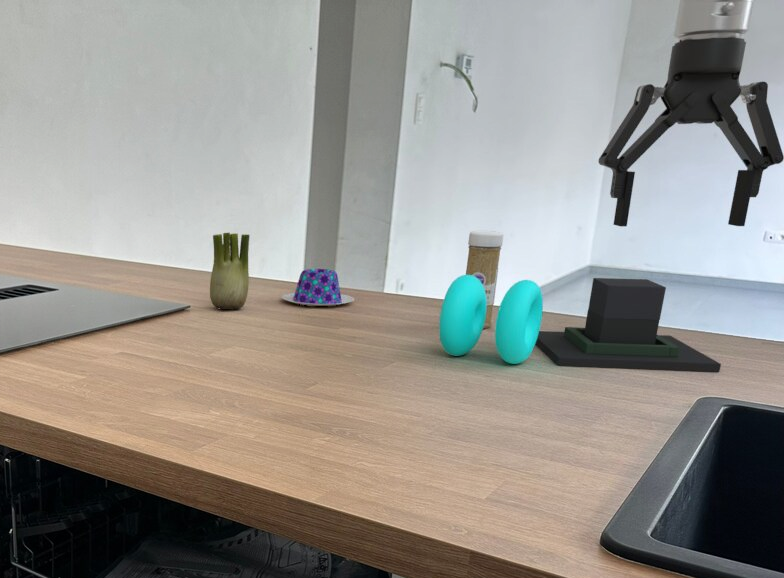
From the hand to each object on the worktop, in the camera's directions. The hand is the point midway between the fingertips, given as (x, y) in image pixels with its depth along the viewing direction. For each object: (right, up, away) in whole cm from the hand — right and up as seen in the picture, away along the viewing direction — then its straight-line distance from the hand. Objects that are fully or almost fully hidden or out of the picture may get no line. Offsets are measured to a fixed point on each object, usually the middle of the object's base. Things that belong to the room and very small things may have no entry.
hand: (677, 225), depth 108 cm
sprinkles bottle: (-19, -10, +18) cm, 28 cm away
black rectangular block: (-7, -15, +1) cm, 17 cm away
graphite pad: (-7, -11, 0) cm, 13 cm away
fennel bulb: (-55, -6, +30) cm, 63 cm away
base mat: (-7, -16, +1) cm, 17 cm away
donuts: (-25, -17, -2) cm, 30 cm away
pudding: (-40, -4, +36) cm, 54 cm away
